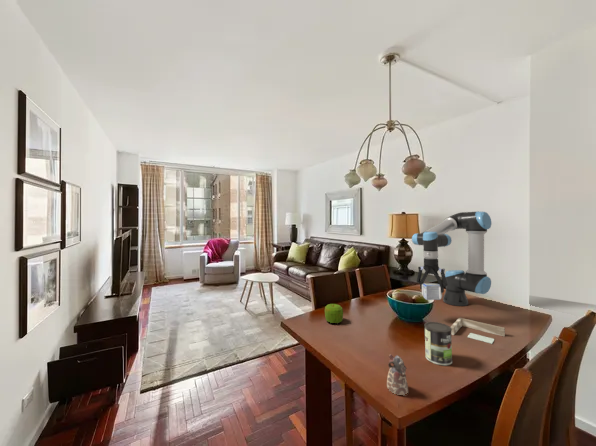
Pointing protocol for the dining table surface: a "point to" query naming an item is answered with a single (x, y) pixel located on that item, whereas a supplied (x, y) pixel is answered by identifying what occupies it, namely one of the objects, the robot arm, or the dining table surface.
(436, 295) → the medicine box
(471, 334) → the pad
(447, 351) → the coffee can
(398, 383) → the figurine
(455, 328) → the corner walls
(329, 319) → the apple
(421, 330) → the dining table surface
